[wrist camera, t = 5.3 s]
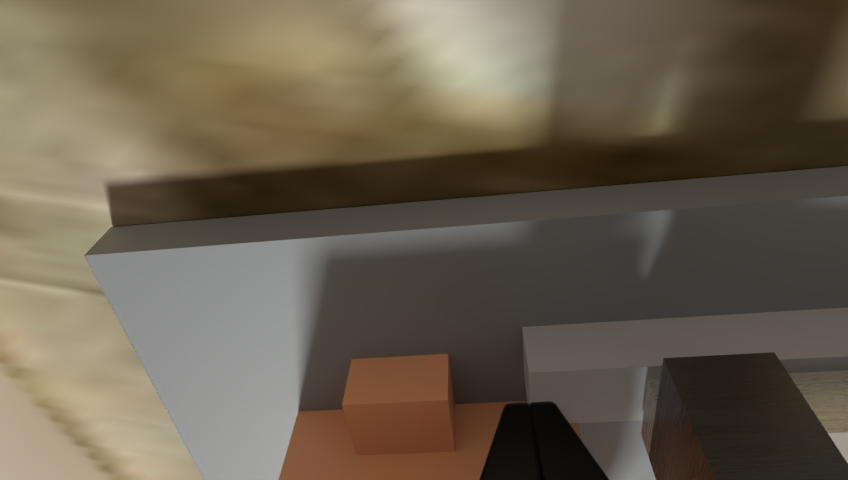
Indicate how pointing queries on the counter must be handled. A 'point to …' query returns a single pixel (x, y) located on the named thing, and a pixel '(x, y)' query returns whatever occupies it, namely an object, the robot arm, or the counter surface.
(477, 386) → the latch plate
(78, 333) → the counter surface
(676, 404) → the latch bolt
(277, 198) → the counter surface
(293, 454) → the cover
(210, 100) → the counter surface
